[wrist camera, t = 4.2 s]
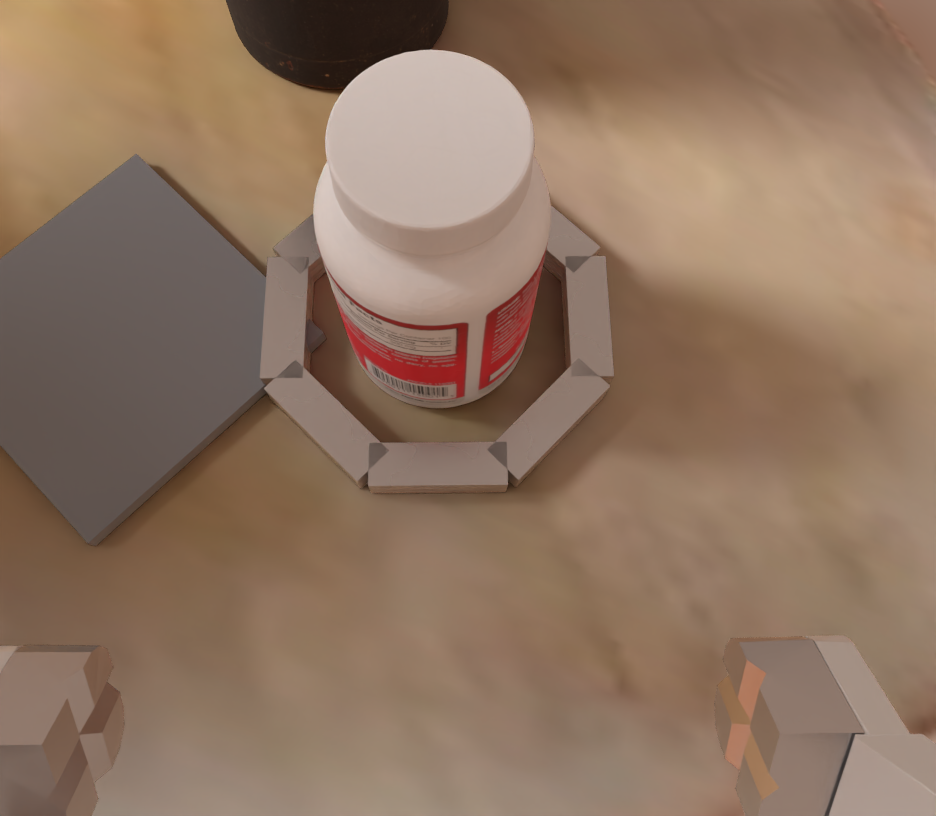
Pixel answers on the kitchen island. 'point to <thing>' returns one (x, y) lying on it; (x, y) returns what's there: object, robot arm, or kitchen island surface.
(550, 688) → the kitchen island surface
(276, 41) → the container
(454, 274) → the pill bottle
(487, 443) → the collar
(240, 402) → the coaster
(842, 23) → the kitchen island surface
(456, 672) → the kitchen island surface
